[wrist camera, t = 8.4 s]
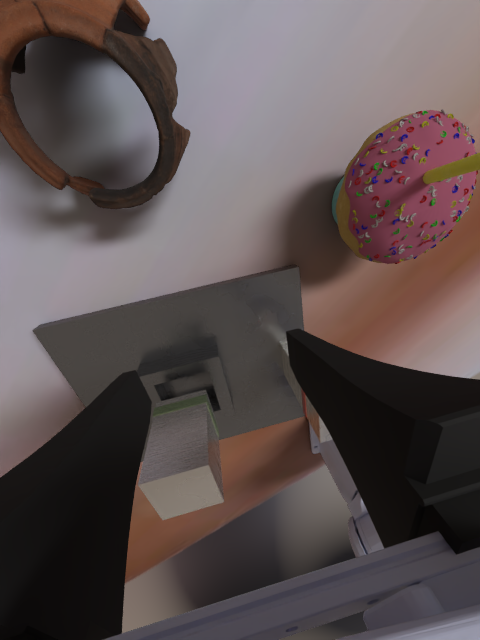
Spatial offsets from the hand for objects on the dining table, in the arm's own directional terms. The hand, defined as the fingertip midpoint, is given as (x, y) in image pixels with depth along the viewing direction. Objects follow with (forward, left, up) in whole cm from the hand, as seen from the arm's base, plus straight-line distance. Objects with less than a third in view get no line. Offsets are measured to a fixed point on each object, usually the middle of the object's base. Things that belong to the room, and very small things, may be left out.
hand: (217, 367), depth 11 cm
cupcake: (+5, -14, -11) cm, 18 cm away
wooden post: (-8, +4, -6) cm, 11 cm away
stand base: (-8, +4, -10) cm, 14 cm away
